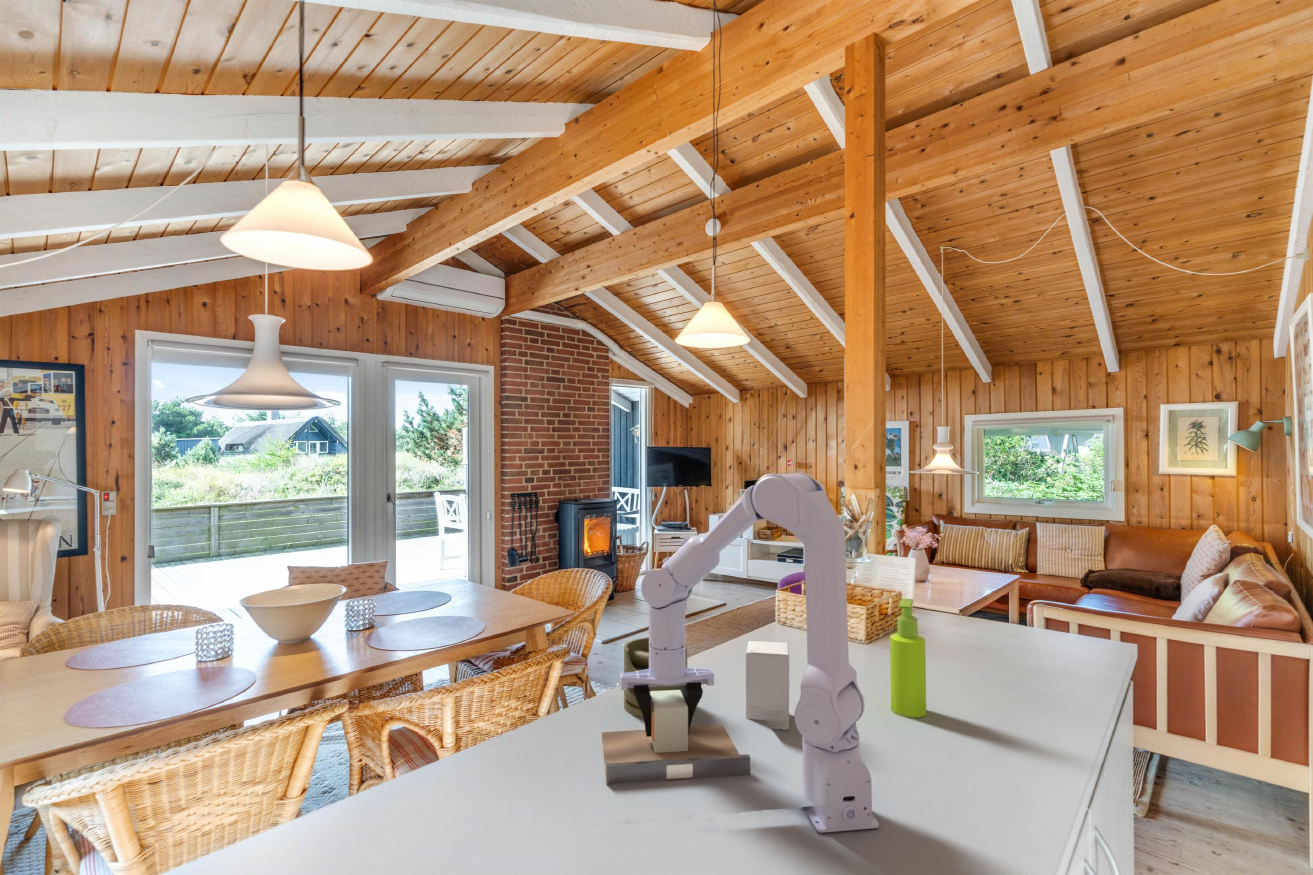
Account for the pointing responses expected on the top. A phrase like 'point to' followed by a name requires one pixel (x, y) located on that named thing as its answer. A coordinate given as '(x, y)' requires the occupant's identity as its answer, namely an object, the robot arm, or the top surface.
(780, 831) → the top surface
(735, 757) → the rail
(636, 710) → the piston
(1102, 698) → the top surface
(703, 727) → the shelf board
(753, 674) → the supplement box
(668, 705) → the carton
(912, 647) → the soap dispenser
